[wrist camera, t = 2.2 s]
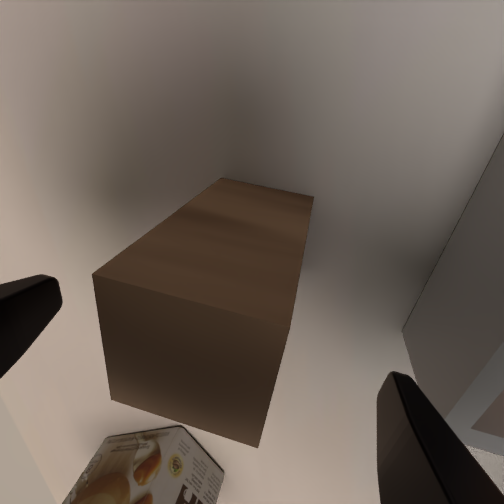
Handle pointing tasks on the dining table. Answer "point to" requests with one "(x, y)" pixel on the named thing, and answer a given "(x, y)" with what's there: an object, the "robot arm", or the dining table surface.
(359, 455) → the dining table surface
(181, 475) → the coffee box
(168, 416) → the walnut peg
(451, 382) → the box
